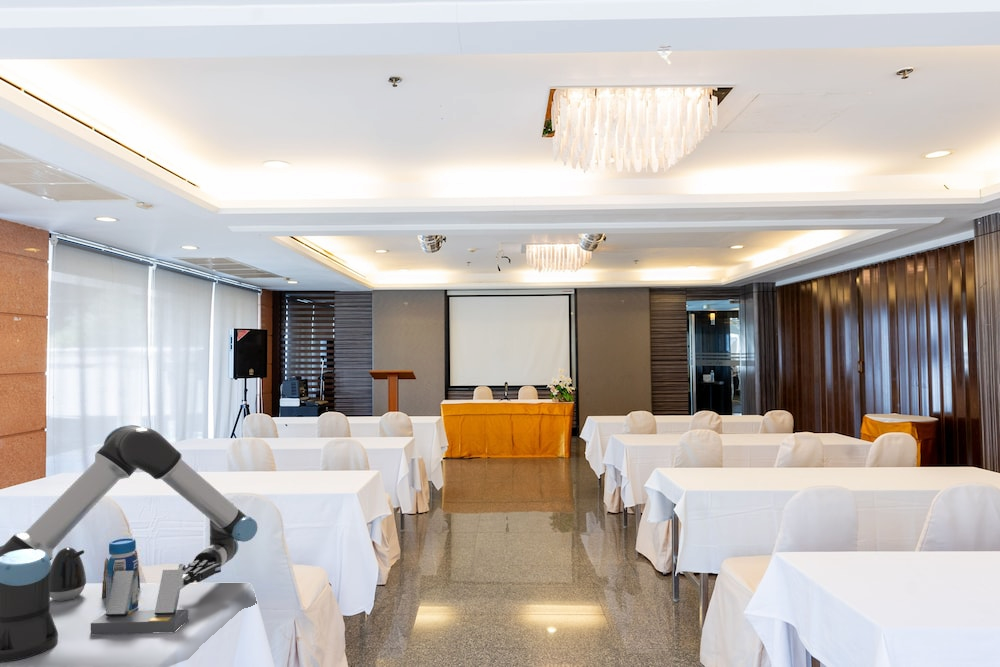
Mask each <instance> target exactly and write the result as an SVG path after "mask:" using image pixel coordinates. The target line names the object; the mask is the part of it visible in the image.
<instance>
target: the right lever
mask: <svg viewBox="0 0 1000 667" xmlns="http://www.w3.org/2000/svg"><path fill="white" fill-rule="evenodd" d="M183 572H184V570H178V569H162V573H161V579H160V583H159V584H160V585H159V589H158V594H157V599H156V603H155V609H154V610H155V615H175V614H176V610H178V605H179V599H180V593H181V590H182V589H181V583H182V578H183ZM180 589H181V590H180Z"/></svg>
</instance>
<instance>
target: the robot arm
mask: <svg viewBox="0 0 1000 667" xmlns="http://www.w3.org/2000/svg"><path fill="white" fill-rule="evenodd" d="M182 458H183V456H182V454H181V452H180V451H178V450H177V449H176V448H175V447H174V446H173V445H172V444H171V443H170V442H169V441H168V440H167V439H166V438H164V436H163V435H161V433H159V432H157V430H155V429H152V428H149V427H142V426H139V425H132V424H128V425H122V426H119V427H117V428H115V429H112V431H111V432H109V433H108V435H107V436H106V438H104V442H103V445H102V446H101V447H100V448H99V449H98V450H97V451H96V452H95V455H94V459H95V460H94V462H93V463H92V464H91V465H90V466H89V467H88V468H87V469H86V470H85V471H84V472H83V473H82V474H81V475H80V476H79V477H78V478H77V479H76V480H75V481H74V482H73V483H72V484H71V485H70V486H69V487H68V488H67V489H66V490H65V491H64V492H63V493H62V494H61V495H60V496H59V497H58V498H57V500H55V501H54V502H53V503H52V504H51V505H50V506H49V507H48V509H46V511H45V512H43V513H42V514H41V515H40V517H38V518H37V520H36V521H35V522H33V523H32V524H31V525H30V526H29V527H28V528H27V529H26V531H23V532H19V533H15V534H14V535H12V537H10V539H9V540H7V542H5V544H3V545H1V546H0V662H9V661H10V662H11V661H16V660H20V659H25V658H28V657H32V656H35V655H38V654H41V653H43V652H45V651H47V650H50V649H51V648H52V647H54V646H55V645H56V644H58V643H57V642H58V639H59V635H58V634H59V633H58V629H57V627H56V624H55V622H54V619H53V617H52V614H51V608H50V606H51V603H50V602H51V597H50V569H51V565H52V562H51V561H52V560H53V552H54V549H55V548H56V547H57V546H58V545H59V544H60V543H61V542H62V541H63V540H64V539H65V537H67V535H68V534H69V533H71V531H72V530H73V529H74V528H75V527H76V526H77V525H78V524H79V523H80V522H81V521H82V520H83V519H84V518H85V517H86V516H87V515H88V513H89V512H90V511H91V510H92V509H93V508H94V507H95V506H96V505H97V504H98V503H99V502H100V501H101V499H102V498H104V497H105V495H106V494H108V492H109V491H111V489H112V488H113V487H114V486H115V485H116V484H117V482H118V481H120V480H123V479H124V480H125V479H129V478H130V477H131V476H132V475H133V474H134V473H135V471H137V469H138V470H141V471H143V472H145V473H146V474H148V475H150V476H151V477H152V478H153V479H154V480H162V481H163V483H165V484H166V485H167V486H169V487H170V488H171V489H172V490H173V491H175V492H176V493H178V495H180V496H181V497H182V498H183V499H185V500H186V501H187V502H188V503H189V504H191V505H192V506H193V507H194V508H196V509H197V510H198V511H199V512H201V514H203V515H204V516H205V517H207V518H208V519H209V546H207V547H206V548H205V549H203V550H202V551H201V552H200V553H198V554H197V555H196V556H195V558H194V559H193V561H192V562H189V563H188V564H187V565H186V564H183V563H180V564H178V569H177V570H184V572H183V578H182V583H181V589H180V591H182V589H183V588H185V587H186V586H189V585H190V584H193V583H194V582H196V583H199V582H202V581H205V580H206V579H208V578H209V577H212V576H213V575H216V574H219V573H221V571H222V567H223V566H224V565H225V564H226V563H228V562H229V561H231V560H232V559H233V558H234V557H235V556H236V555H237V553H238V550H239V543H238V542H242V543H245V542H248V541H251V540H252V539H253V538H255V536H256V534H257V532H258V523H257V521H256V520H255V519H253V518H252V517H251V516H247V515H246V514H245V513H243V512H242V511H241V510H240V509H239V508H238V507H237V506H236V505H235V504H234V503H232V502H231V501H230V500H229V499H228V498H226V496H224V495H223V494H222V493H221V492H220V491H218V490H217V489H216V488H215V487H214V486H213V485H212V484H210V483H209V482H208V481H207V480H206V479H205V478H203V477H202V476H201V475H200V473H198V472H197V471H196V470H195V469H193V468H192V467H191V466H190V465H189V464H188V463H187V462H185V460H183V459H182Z"/></svg>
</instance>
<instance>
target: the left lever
mask: <svg viewBox="0 0 1000 667" xmlns="http://www.w3.org/2000/svg"><path fill="white" fill-rule="evenodd" d="M136 574H137V571H116V572H115V576H114V580H113V585H112V589H111V593H110V598H109V602H108V607H107V611H106V610H105V613H106V616H127V614H128V611H129V606H130V602H131V597H132V592H133V588H134V583H135V578H136Z"/></svg>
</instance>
